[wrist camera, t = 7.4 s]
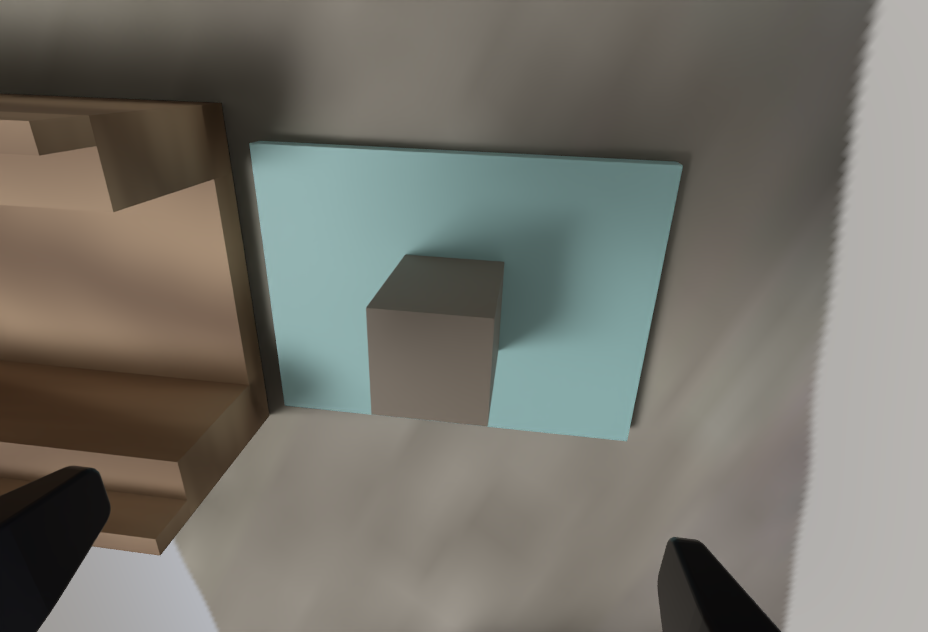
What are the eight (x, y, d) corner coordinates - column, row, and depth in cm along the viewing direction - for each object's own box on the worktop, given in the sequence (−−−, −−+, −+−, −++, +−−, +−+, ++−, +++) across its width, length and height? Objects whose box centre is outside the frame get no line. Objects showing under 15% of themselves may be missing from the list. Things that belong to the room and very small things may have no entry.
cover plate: (621, 419, 19) (650, 535, 14) (298, 387, 20) (224, 484, 15) (672, 158, 15) (734, 198, 10) (268, 138, 16) (157, 165, 11)
